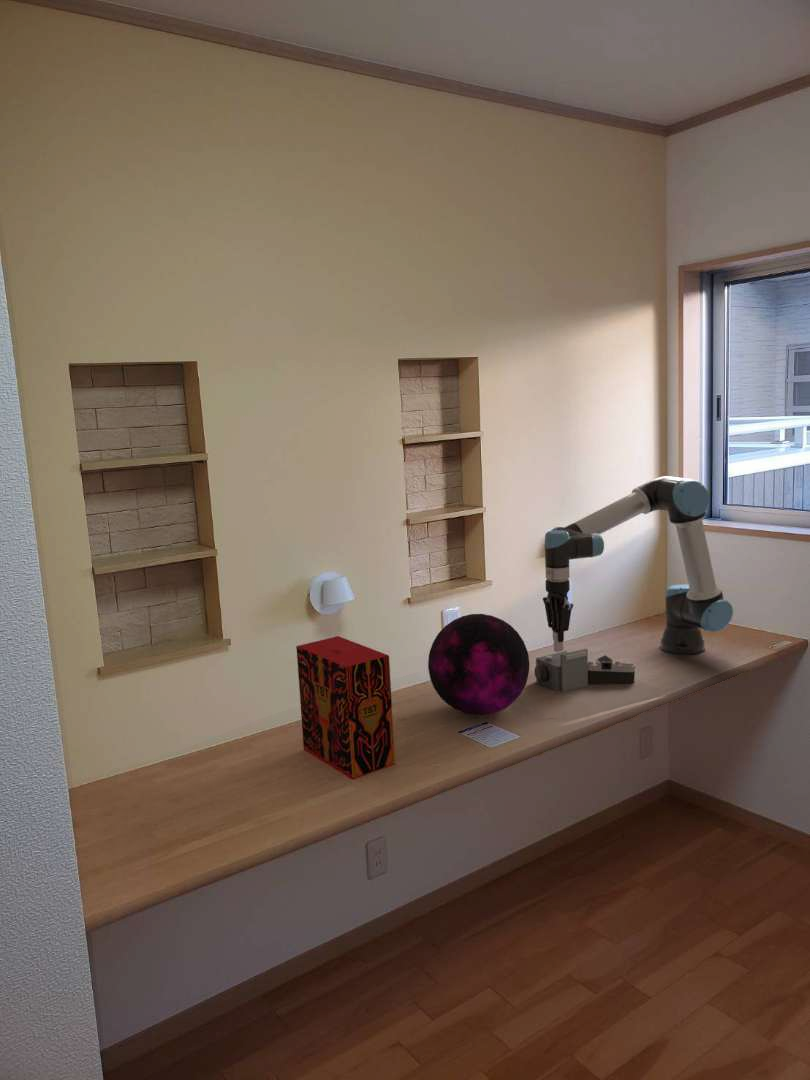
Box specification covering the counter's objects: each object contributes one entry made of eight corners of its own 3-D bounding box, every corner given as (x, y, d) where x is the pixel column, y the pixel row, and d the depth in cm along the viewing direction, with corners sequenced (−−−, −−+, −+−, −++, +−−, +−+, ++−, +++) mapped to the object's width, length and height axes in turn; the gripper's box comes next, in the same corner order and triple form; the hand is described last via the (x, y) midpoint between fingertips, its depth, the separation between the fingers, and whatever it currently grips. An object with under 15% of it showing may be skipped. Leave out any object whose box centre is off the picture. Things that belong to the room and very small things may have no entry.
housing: (565, 677, 293) (565, 648, 291) (587, 686, 283) (587, 657, 282) (532, 685, 287) (531, 656, 285) (553, 695, 277) (553, 665, 276)
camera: (632, 682, 289) (633, 652, 288) (636, 690, 280) (637, 659, 279) (582, 680, 291) (583, 651, 290) (585, 688, 282) (586, 657, 281)
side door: (585, 686, 283) (585, 648, 280) (589, 687, 281) (588, 649, 279) (560, 692, 278) (560, 654, 276) (564, 694, 277) (563, 655, 274)
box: (303, 750, 245) (296, 646, 240) (344, 736, 253) (337, 636, 247) (352, 779, 225) (345, 667, 220) (394, 764, 233) (389, 655, 228)
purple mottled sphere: (409, 716, 266) (405, 619, 261) (472, 687, 287) (469, 598, 282) (489, 740, 246) (486, 636, 240) (550, 707, 267) (548, 611, 262)
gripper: (535, 577, 285) (537, 647, 289) (560, 584, 273) (561, 657, 277) (554, 574, 288) (555, 643, 292) (579, 581, 277) (580, 653, 281)
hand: (558, 650), depth 285 cm, fingers closed
